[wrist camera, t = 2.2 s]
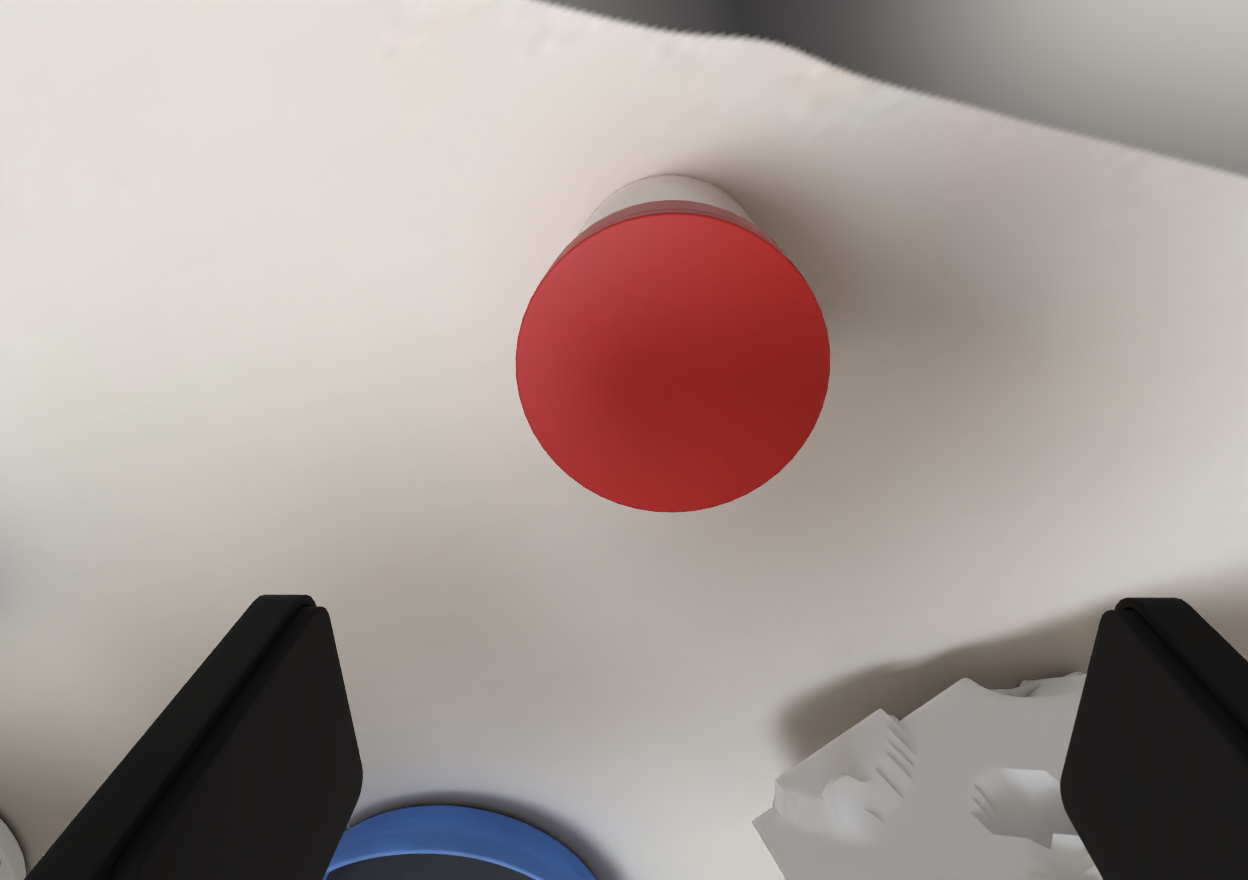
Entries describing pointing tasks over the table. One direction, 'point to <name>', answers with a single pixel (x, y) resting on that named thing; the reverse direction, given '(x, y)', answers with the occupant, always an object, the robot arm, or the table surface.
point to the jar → (665, 196)
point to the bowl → (450, 848)
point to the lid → (672, 357)
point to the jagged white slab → (938, 793)
